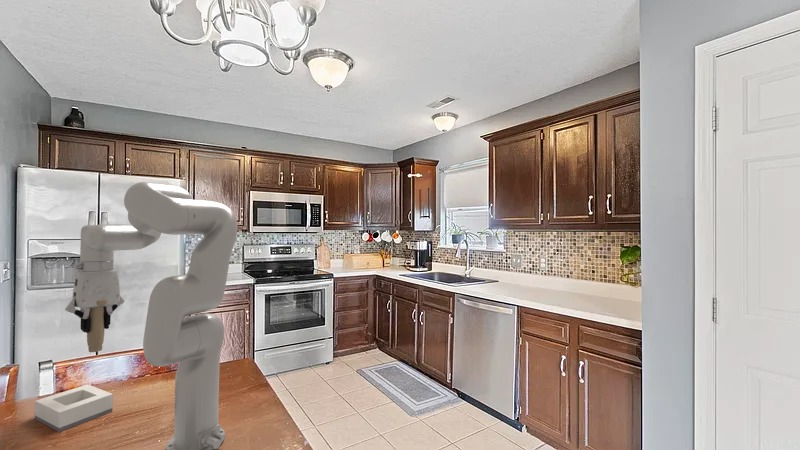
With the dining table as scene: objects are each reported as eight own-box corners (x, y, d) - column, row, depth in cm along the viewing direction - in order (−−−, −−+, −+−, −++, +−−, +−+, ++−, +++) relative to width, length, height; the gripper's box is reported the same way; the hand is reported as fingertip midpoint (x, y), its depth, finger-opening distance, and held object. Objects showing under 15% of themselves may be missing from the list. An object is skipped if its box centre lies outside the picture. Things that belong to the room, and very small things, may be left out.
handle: (94, 354, 103) (95, 301, 103) (78, 352, 105) (79, 300, 105) (112, 349, 107) (113, 298, 108) (96, 347, 109) (97, 297, 109)
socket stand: (112, 411, 105) (112, 394, 105) (59, 431, 94) (59, 412, 94) (87, 400, 111) (87, 384, 111) (34, 418, 100) (35, 400, 100)
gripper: (66, 270, 97) (64, 339, 97) (135, 265, 112) (134, 325, 112) (54, 268, 101) (52, 335, 100) (122, 264, 115) (121, 322, 115)
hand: (95, 329), depth 106 cm, fingers closed on handle, 3 cm apart
